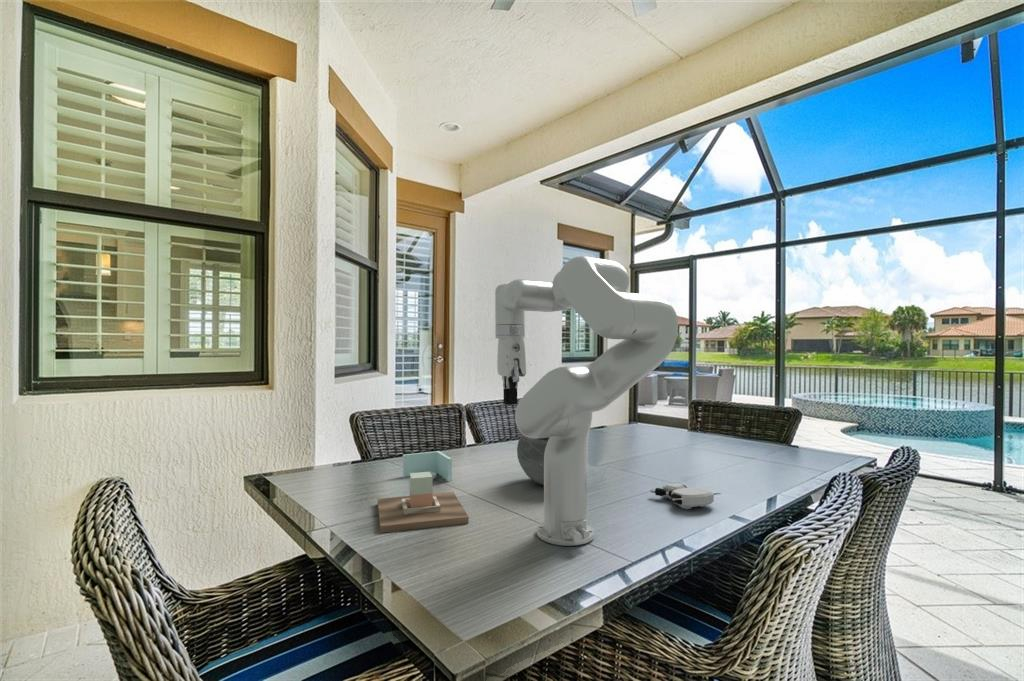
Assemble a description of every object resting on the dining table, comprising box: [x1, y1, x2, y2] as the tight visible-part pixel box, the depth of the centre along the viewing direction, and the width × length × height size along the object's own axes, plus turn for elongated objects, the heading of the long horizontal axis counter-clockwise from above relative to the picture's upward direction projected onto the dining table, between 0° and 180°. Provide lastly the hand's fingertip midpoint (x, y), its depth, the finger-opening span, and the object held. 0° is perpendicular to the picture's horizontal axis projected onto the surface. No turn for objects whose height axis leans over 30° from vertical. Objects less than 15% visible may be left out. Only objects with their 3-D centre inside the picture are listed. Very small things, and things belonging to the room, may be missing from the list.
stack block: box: [409, 472, 433, 508], centre depth 120 cm, size 5×5×8 cm
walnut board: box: [377, 491, 469, 534], centre depth 120 cm, size 20×20×3 cm
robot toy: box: [649, 483, 722, 510], centre depth 128 cm, size 12×4×15 cm
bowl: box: [516, 433, 550, 486], centre depth 146 cm, size 21×21×15 cm
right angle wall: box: [402, 450, 453, 483], centre depth 151 cm, size 12×12×8 cm
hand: (510, 403), depth 124 cm, fingers closed
